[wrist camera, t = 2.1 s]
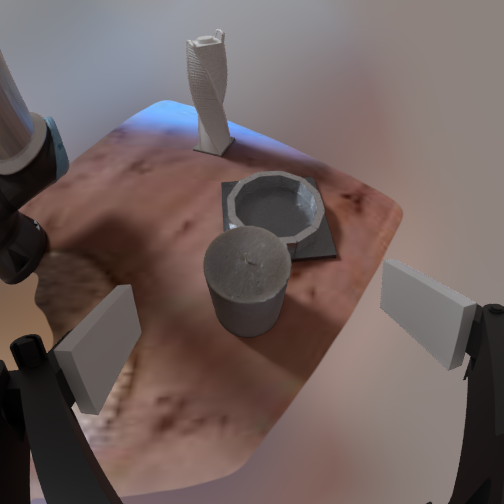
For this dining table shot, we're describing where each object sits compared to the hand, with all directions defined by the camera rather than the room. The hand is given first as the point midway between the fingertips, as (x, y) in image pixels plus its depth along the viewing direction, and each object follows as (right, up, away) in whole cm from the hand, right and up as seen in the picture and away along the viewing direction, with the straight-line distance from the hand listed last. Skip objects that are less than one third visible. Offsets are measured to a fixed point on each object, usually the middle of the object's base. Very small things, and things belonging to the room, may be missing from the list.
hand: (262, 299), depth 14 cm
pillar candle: (-1, -6, +29) cm, 30 cm away
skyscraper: (-9, +26, +49) cm, 56 cm away
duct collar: (+3, +8, +38) cm, 39 cm away
